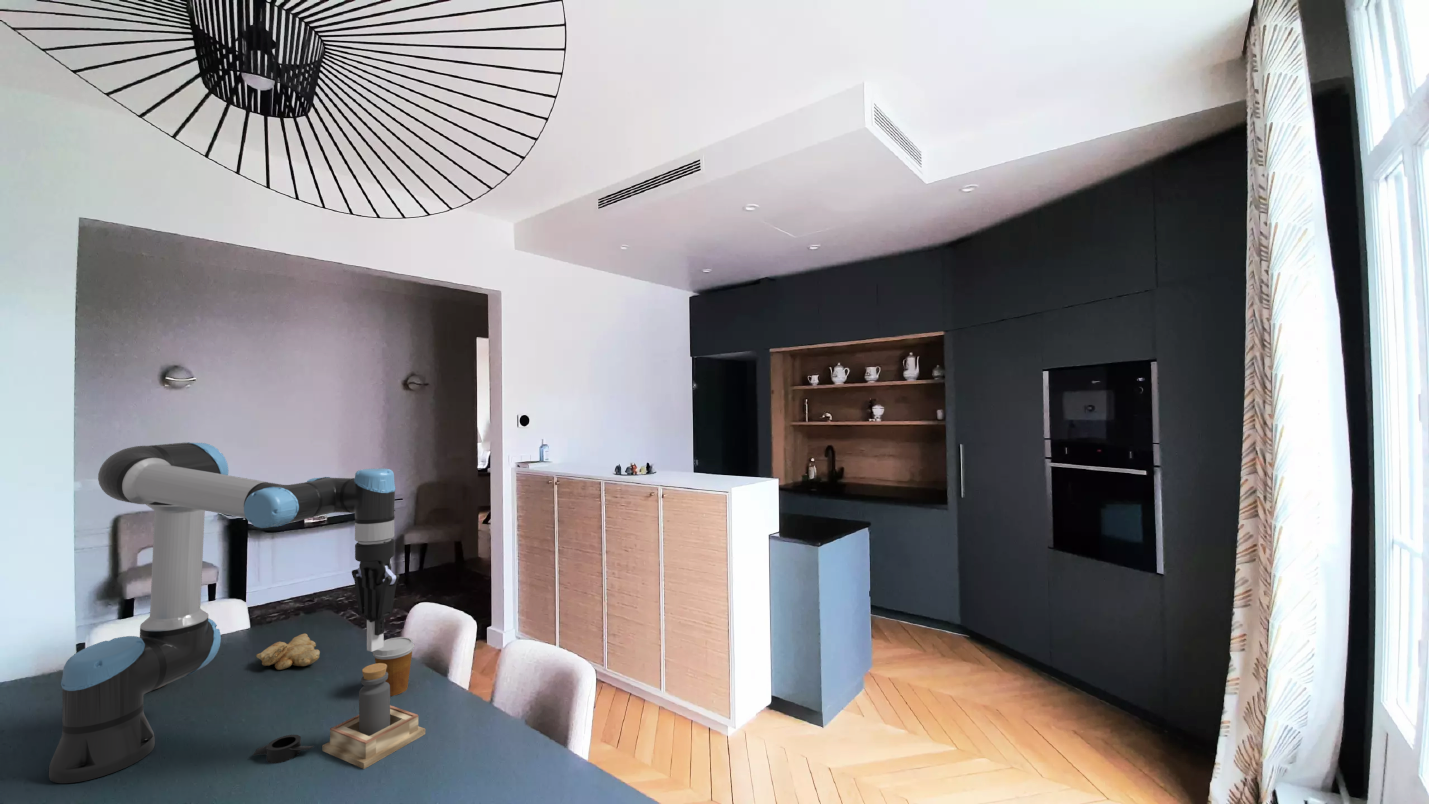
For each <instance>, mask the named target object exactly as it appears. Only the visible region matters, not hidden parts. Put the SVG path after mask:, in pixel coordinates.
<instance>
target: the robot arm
mask: <svg viewBox="0 0 1429 804" xmlns="http://www.w3.org/2000/svg"><path fill="white" fill-rule="evenodd" d="M97 480H98V481H97V482H98V485H99V486H100V488H101V490H102V491H103V492H104V494H106V495H107V496H109V497H110V498H112V499H115V500H117V501H121V502H125V503H131V504H136V505H146V506H147V507H149V508H150V509H151V510H153V511H154V519H153V538H152V539H153V543H152V561H151V562H152V563H151V584H150V585H151V587H150V588H151V589H150V604H149V608H150V609H149V617H148V618H146V619H145V620H144V621H143V622H141V623H140V626H139V636H137V635H136V636H135V635H128V636H119V637H115V638H112V639H110V640H104V641H100V642H97V643H95V644H91V645H90V646H87V647H85V648H82V649H81V650H79V651H77V652H76V653H74V654H73V655H71V656H70V657H69V659H67V660H66V662H65V664H64V665H63V669H62V678H61V680H60V686H61V688H62V689H61V691H62V692H61V693H62V696H61V697H62V701H61V702H62V703H61V704H62V709H61V711H62V714H61V716H62V718H61V720H62V730H61V731H62V732H61V737H60V739H59V742H58V744H57V746H56V749H55V751H54V753H53V756H52V758H51V761H50V763H49V767H48V771H49V772H48V779H49V780H50V781H51V782H53V783H56V784H57V783H58V784H72V783H74V784H75V783H79V782H85V781H89V780H94V779H98V778H101V777H104V776H107V775H110V774H114V773H115V772H118V771H119V772H120V770H123V769H125V768H127V767H128V768H129V766H132V765H134V764H136V763H139V761H141V760H143V759H144V758H146V757H147V756H148V755H149V754H150V753H151V752H152V751H154V748H155V747H156V746H155V741H156V740H155V738H156V737H155V733H154V731H153V729H152V726H151V725H150V723H149V721H148V719H147V717H146V715H145V713H144V695H145V694H147V693H150V692H152V691H154V690H157V689H160V688H162V687H164V686H166V685H168V684H170V683H172V682H174V681H177V680H179V679H181V678H183V677H187V676H191V675H192V674H194V673H195V672H197V671H198V670H200V669H202V668H204V667H205V666H207V665H209V663H211V662H212V661H213V660H214V658H215V657H216V656H217V654H218V652H219V650H220V646H221V641H222V639H221V637H222V636H221V632H220V630H221V629H220V628H217V626H218V624H217V623H216V622H215V621H214V620H212V619H210V618H209V613H208V612H206V611H205V610H203V609H202V608H201V601H202V598H201V597H202V580H203V579H202V578H203V576H202V575H203V561H204V560H203V558H204V538H205V537H204V536H205V534H204V533H205V532H204V531H205V512H210V513H211V512H212V513H217V514H223V515H229V516H232V517H233V516H234V517H239V518H244V519H246V520H247V522H249V523H251V525H253V527H256V528H259V529H266V528H267V529H268V528H273V527H274V528H276V527H277V528H278V527H281V526H284V525H286V524H291V523H295V522H299V521H303V520H308V519H312V518H317V517H320V516H321V517H322V516H324V515H328V514H333V513H335V514H336V513H352V514H354V540H355V541H356V542H355V544H354V550H355V551H354V560H355V561H357V562H359V564H358V565H359V567H358V568H356V569H352V570H351V576H352V577H353V580H354V587H355V594H356V601H357V608H358V614H359V615H360V616H361V615H363V617H364V619H365V620H366V621H365V622H366V623H365V624H366V625H365V626H366V628H365V629H366V651H367V652H373V651H375V650H377V649H380V648H382V647H384V640H385V637H384V635H385V619H386V618H389V617H391V616H392V615H393V608H394V602H395V595H396V590H397V584H398V582H399V581H400V575H399V573H393V571H392V565H391V562H390V561H391V559H392V558H393V557H394V556H395V553H396V552H395V551H396V547H395V546H396V543H395V542H396V541H395V539H394V537H395V536H396V535H395V517H396V516H395V497H396V485H395V473H394V471H393V470H392V469H389V468H384V467H383V468H382V467H381V468H366V469H365V468H364V469H363V468H362V469H360V470H357V471H355V474H354V477H351V478H350V477H349V478H347V477H331V476H323V477H314V478H310V479H308V480H307V481H306V482H299V483H294V484H293V483H292V484H281V483H275V482H268V481H263V480H257V479H251V478H247V477H246V478H245V477H240V476H235V475H229V465H228V462H227V459H226V457H225V456H224V454H223V453H221V451H219V449H218V448H217V447H216V446H214V445H211V444H209V443H205V442H176V443H165V444H151V445H135V446H130V447H127V448H124V449H122V450H119V451H117V452H114V453H113V454H111V455H110V456H108V457H107V458H106V460H105V461H104V462H103V463H102V465H101V466H100V468H99V471H98V475H97ZM163 685H164V686H163ZM161 686H162V687H161ZM159 687H160V688H159Z"/></svg>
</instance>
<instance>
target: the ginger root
mask: <svg viewBox="0 0 1429 804" xmlns="http://www.w3.org/2000/svg"><path fill="white" fill-rule="evenodd" d="M308 635H309V634H307V633H302V634H299V635H297V636H295V637H293V638H292V639H291V640H290V641H289V642H288V643H286V642H285V641H276V642H275V643H273V644H271V645H270V646H268V647H266V648H265V649H264V650H263V651H261V652H260V653H256V654H255V656H256V658H257V659H259V660H261V665H262V666H263V667H266V666H272V665H274V667H275V669H276V670H278V671H279V670H280V671H282V670H286V669H287V668H290V667H291V666H294V667H295V666H296V667H306V666H309V665H312V664H314V663H315V662H317V661H318V659H319V658H320V653H321V651H320V650H319V649H315V647H316V646H317V644H316V642H315V641H314V640H311V638H310V637H309V636H308Z"/></svg>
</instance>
